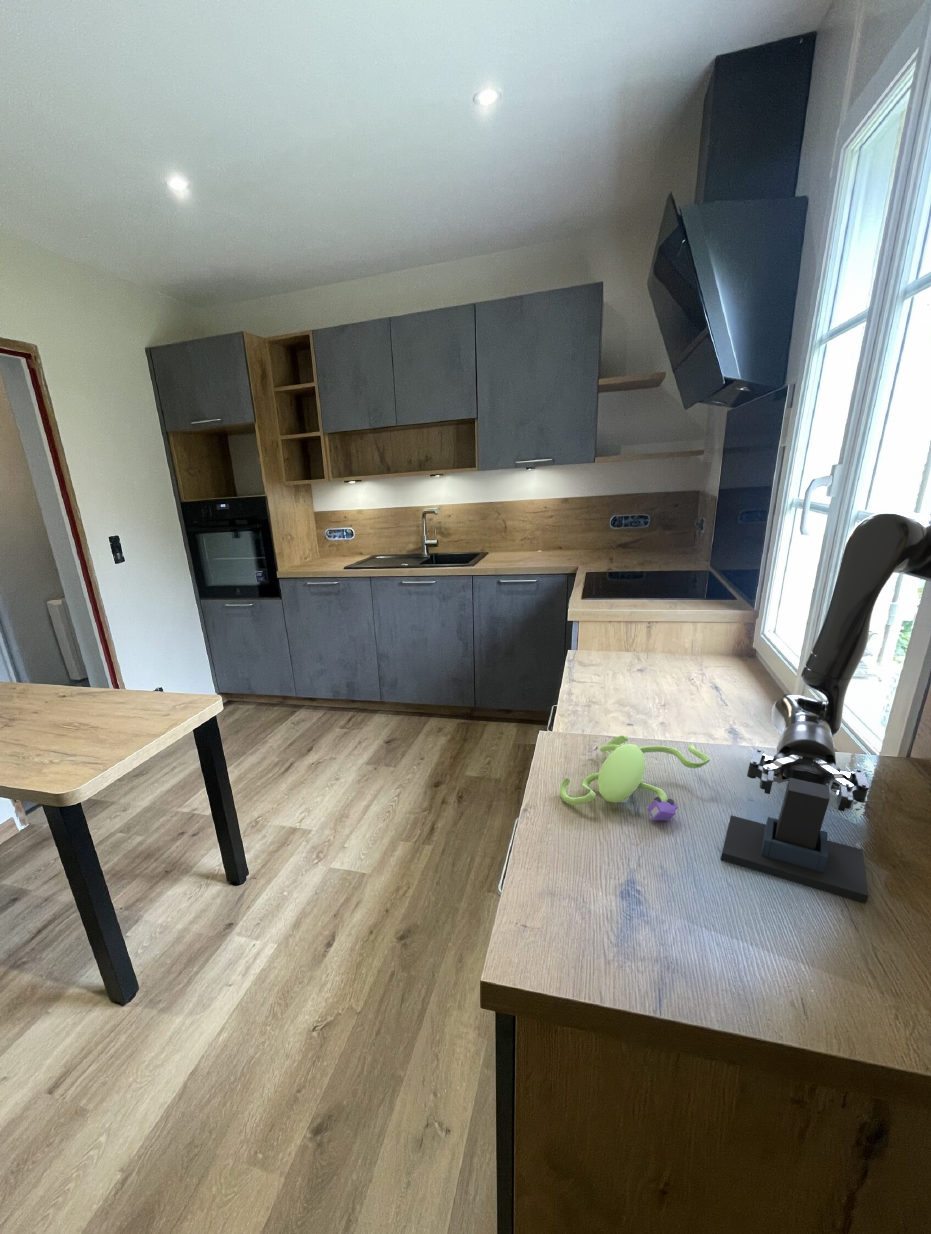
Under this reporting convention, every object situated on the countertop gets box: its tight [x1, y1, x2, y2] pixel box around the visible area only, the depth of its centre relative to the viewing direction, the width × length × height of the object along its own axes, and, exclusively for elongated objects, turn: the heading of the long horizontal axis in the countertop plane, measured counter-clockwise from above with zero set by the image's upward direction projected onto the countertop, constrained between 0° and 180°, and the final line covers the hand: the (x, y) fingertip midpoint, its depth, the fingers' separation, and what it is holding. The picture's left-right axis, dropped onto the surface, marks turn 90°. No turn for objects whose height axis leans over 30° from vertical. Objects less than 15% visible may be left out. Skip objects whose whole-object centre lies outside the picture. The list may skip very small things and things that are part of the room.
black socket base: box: [720, 814, 869, 904], centre depth 76 cm, size 16×11×4 cm
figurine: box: [559, 735, 711, 822], centre depth 95 cm, size 18×27×6 cm
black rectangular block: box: [773, 778, 830, 850], centre depth 75 cm, size 4×4×10 cm
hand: (804, 796), depth 76 cm, fingers open, 8 cm apart
